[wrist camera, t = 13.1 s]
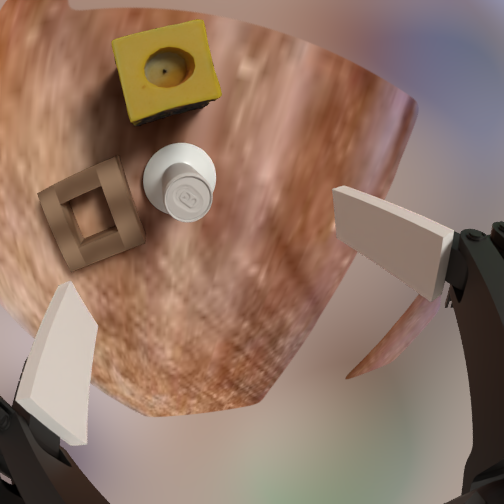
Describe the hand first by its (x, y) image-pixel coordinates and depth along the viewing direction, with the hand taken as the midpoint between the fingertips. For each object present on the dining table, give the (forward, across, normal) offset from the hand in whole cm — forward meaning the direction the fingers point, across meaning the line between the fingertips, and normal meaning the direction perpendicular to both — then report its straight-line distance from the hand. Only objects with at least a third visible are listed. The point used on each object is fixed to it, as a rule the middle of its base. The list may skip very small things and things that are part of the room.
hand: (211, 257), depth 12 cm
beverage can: (+26, +1, -1) cm, 26 cm away
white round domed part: (+27, +1, -1) cm, 27 cm away
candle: (+27, +2, +13) cm, 30 cm away
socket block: (+27, -12, -1) cm, 30 cm away
